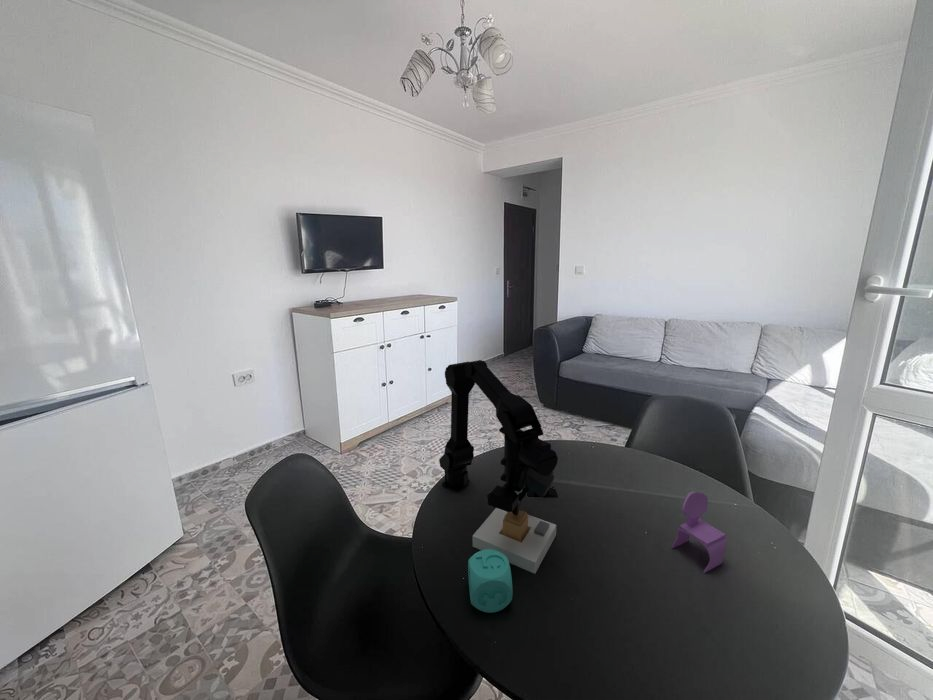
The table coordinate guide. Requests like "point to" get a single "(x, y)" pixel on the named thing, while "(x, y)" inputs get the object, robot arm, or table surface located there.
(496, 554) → the decorative dice
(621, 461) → the table surface
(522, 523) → the brown block
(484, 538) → the socket plate
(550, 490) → the black angular piece
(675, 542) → the toy chair
